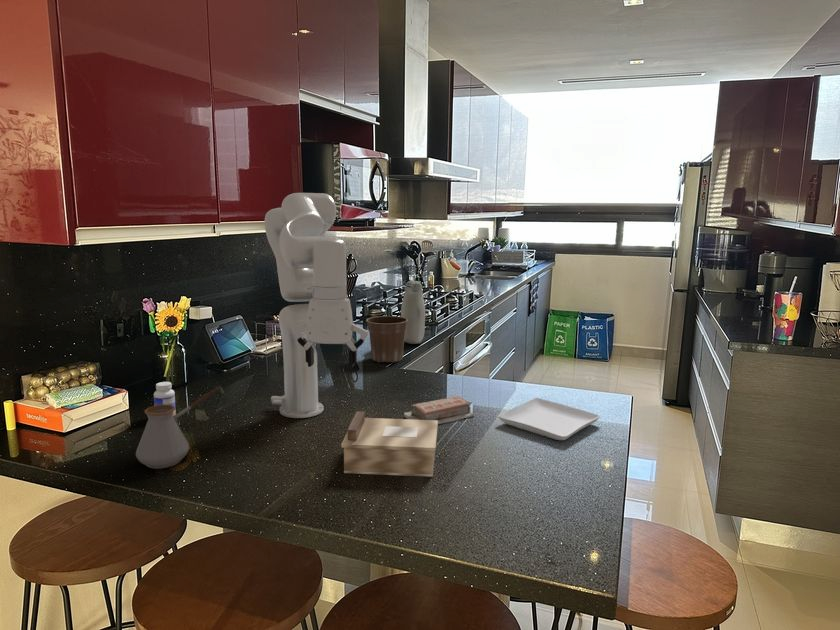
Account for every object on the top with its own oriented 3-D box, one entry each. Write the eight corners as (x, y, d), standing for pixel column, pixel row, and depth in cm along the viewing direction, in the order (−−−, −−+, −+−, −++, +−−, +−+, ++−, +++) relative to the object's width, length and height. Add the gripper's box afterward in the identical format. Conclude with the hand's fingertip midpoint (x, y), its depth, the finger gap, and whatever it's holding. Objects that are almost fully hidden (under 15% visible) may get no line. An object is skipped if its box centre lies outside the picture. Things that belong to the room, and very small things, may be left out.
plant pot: (357, 359, 224) (357, 319, 221) (386, 352, 237) (386, 314, 234) (387, 367, 214) (387, 325, 211) (415, 359, 226) (416, 319, 223)
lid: (341, 447, 127) (341, 433, 127) (354, 420, 144) (354, 408, 143) (435, 451, 126) (435, 437, 126) (437, 423, 142) (438, 410, 142)
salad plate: (564, 448, 144) (565, 435, 144) (495, 426, 158) (495, 414, 158) (601, 426, 160) (602, 414, 159) (535, 407, 174) (536, 396, 173)
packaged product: (455, 392, 172) (475, 402, 164) (455, 407, 173) (474, 418, 165) (403, 402, 163) (421, 412, 155) (403, 418, 164) (420, 429, 156)
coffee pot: (149, 477, 126) (143, 412, 123) (128, 461, 133) (123, 400, 130) (237, 448, 141) (234, 390, 138) (214, 435, 149) (211, 380, 146)
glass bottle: (396, 343, 252) (397, 280, 247) (413, 339, 259) (414, 278, 254) (411, 347, 245) (412, 282, 240) (428, 343, 252) (430, 280, 247)
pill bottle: (152, 416, 162) (149, 383, 160) (171, 411, 165) (168, 379, 164) (160, 421, 158) (157, 387, 156) (179, 416, 162) (177, 383, 160)
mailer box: (344, 472, 129) (343, 448, 128) (356, 444, 144) (356, 421, 143) (432, 476, 128) (433, 451, 126) (435, 447, 143) (435, 424, 142)
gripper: (288, 295, 127) (290, 369, 130) (365, 296, 126) (365, 371, 129) (297, 290, 134) (299, 360, 137) (370, 291, 133) (370, 362, 136)
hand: (331, 365), depth 133 cm, fingers open, 9 cm apart
